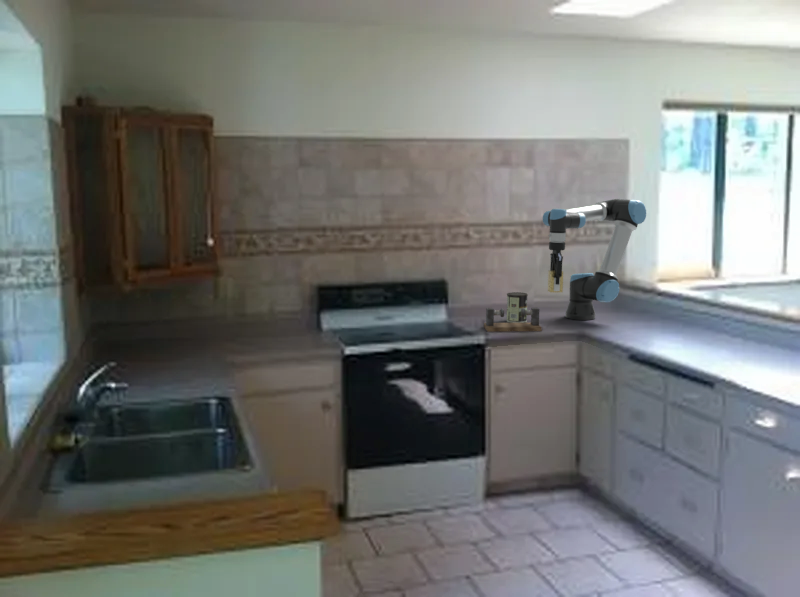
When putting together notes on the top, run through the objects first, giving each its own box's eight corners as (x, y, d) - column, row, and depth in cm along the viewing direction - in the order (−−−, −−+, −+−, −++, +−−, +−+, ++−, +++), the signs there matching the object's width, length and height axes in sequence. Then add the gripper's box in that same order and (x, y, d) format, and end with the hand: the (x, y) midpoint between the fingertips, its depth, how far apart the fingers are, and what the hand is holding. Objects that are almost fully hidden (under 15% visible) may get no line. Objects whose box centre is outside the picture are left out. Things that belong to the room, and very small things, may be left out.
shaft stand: (536, 326, 392) (536, 306, 390) (541, 331, 381) (542, 310, 379) (483, 326, 390) (484, 306, 388) (487, 331, 379) (487, 310, 377)
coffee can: (525, 319, 409) (526, 292, 407) (528, 323, 399) (528, 295, 397) (505, 319, 410) (505, 292, 407) (507, 323, 399) (508, 295, 397)
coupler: (560, 290, 386) (560, 270, 384) (562, 292, 381) (563, 271, 380) (547, 290, 385) (548, 270, 384) (550, 292, 381) (550, 271, 379)
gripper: (544, 239, 388) (542, 287, 392) (554, 243, 371) (552, 293, 374) (560, 239, 388) (558, 287, 392) (570, 243, 371) (567, 293, 375)
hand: (555, 290), depth 383 cm, fingers closed on coupler, 4 cm apart
